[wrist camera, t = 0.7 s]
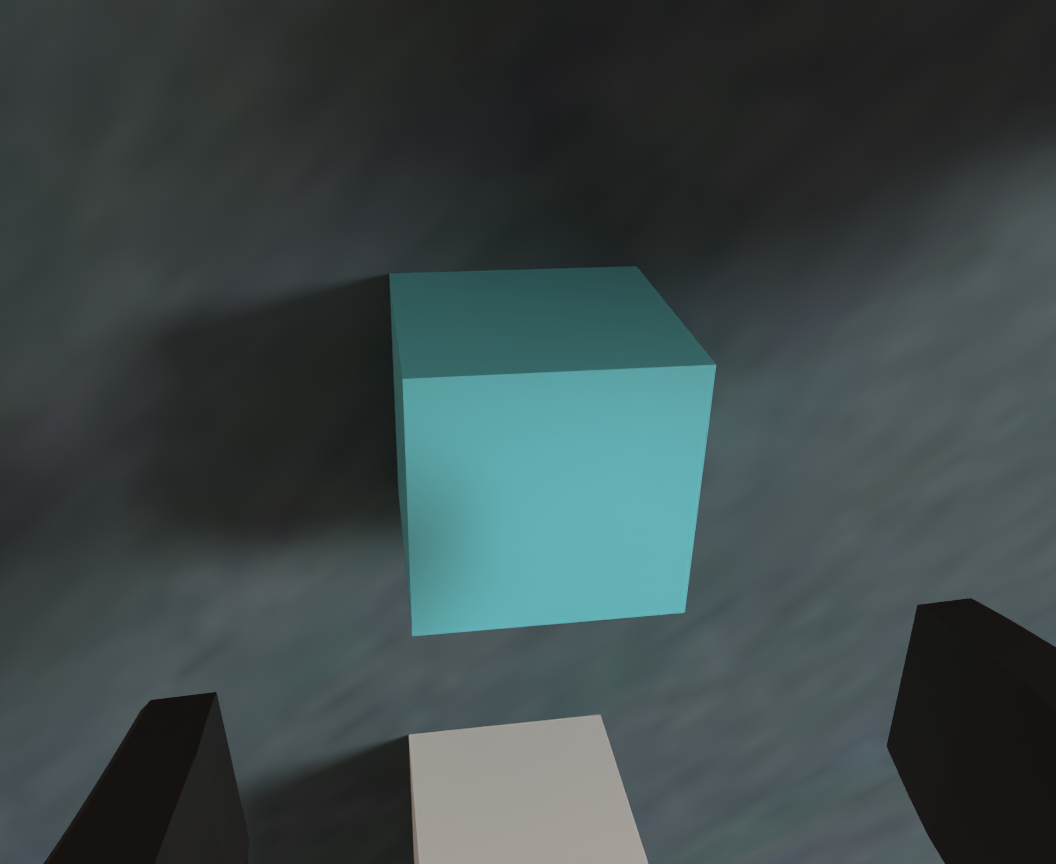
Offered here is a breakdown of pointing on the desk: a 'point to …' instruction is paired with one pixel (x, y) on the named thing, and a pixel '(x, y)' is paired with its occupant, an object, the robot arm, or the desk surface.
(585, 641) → the desk surface
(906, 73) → the desk surface
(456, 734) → the white block
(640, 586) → the teal block
